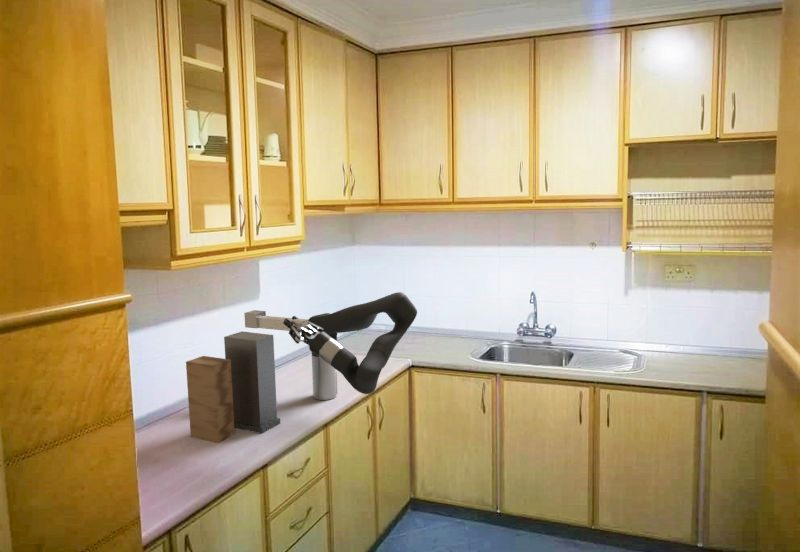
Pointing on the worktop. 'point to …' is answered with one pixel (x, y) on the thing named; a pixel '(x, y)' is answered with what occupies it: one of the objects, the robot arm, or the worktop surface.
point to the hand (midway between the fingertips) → (288, 319)
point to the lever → (270, 321)
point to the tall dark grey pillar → (252, 380)
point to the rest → (210, 398)
